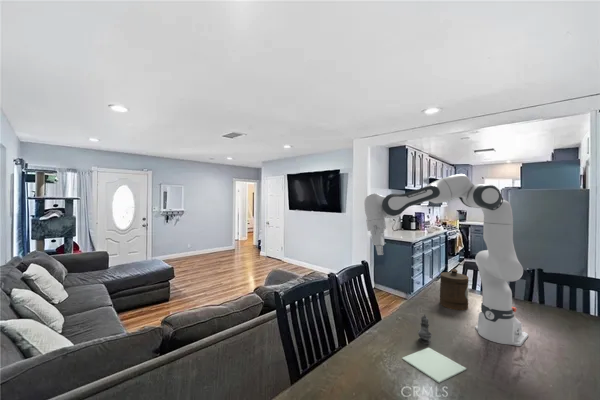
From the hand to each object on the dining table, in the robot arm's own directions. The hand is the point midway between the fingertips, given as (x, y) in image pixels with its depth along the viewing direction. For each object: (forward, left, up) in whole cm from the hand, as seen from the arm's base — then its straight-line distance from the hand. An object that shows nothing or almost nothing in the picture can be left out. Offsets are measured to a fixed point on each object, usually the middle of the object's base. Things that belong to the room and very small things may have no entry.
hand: (380, 255), depth 130 cm
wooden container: (-63, -3, -37) cm, 73 cm away
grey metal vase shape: (-12, +16, -37) cm, 42 cm away
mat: (0, +29, -37) cm, 47 cm away
